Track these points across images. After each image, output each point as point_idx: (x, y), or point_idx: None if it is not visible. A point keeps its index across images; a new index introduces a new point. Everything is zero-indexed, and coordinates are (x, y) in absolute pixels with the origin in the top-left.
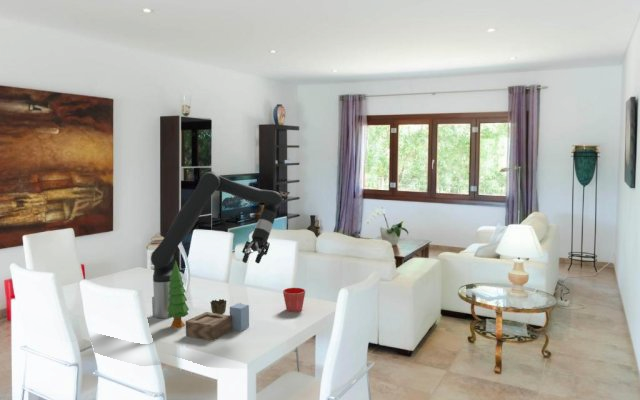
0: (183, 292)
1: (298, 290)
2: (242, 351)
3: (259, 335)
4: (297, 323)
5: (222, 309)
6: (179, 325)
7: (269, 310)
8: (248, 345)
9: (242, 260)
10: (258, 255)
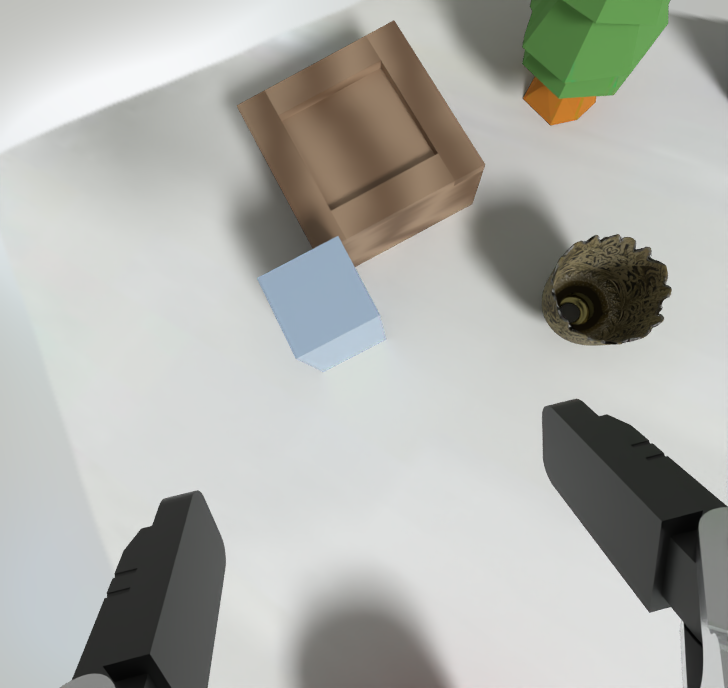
0: None
1: None
2: (75, 199)
3: (184, 350)
4: None
5: (544, 304)
6: (535, 84)
7: (522, 636)
8: (113, 249)
9: (577, 399)
10: (117, 636)
